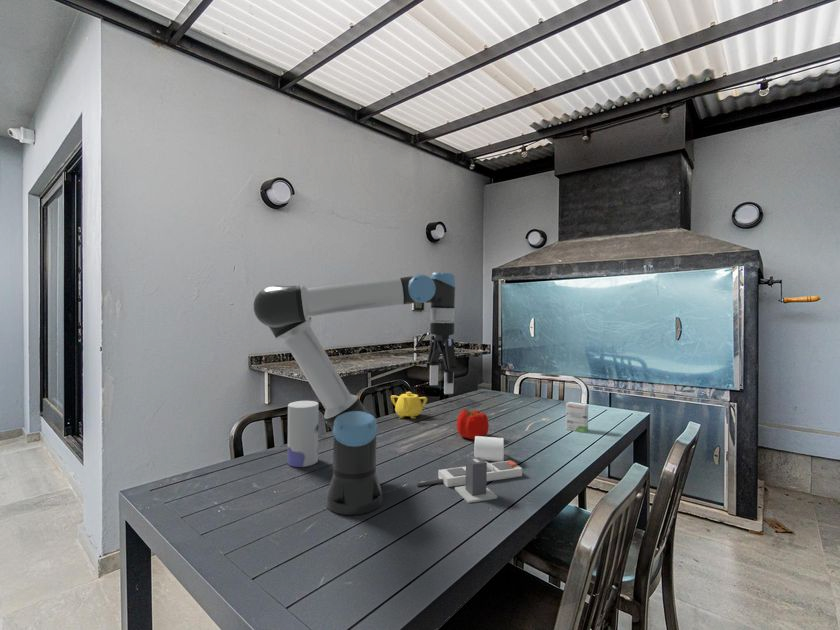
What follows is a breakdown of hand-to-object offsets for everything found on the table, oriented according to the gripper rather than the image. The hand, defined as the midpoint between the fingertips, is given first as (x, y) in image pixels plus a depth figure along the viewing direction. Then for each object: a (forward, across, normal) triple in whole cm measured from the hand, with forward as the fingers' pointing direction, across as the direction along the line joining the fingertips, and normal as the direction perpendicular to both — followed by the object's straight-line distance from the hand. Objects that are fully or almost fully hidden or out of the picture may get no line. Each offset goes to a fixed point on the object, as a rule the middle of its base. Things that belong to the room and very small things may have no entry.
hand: (440, 389), depth 132 cm
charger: (+27, -15, -6) cm, 31 cm away
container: (+28, +23, +41) cm, 55 cm away
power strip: (+28, -4, -8) cm, 29 cm away
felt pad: (+28, -15, -6) cm, 32 cm away
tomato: (+28, +33, -27) cm, 51 cm away
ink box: (+27, +31, -76) cm, 86 cm away
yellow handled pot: (+28, +69, -9) cm, 75 cm away
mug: (+28, +10, -23) cm, 37 cm away
